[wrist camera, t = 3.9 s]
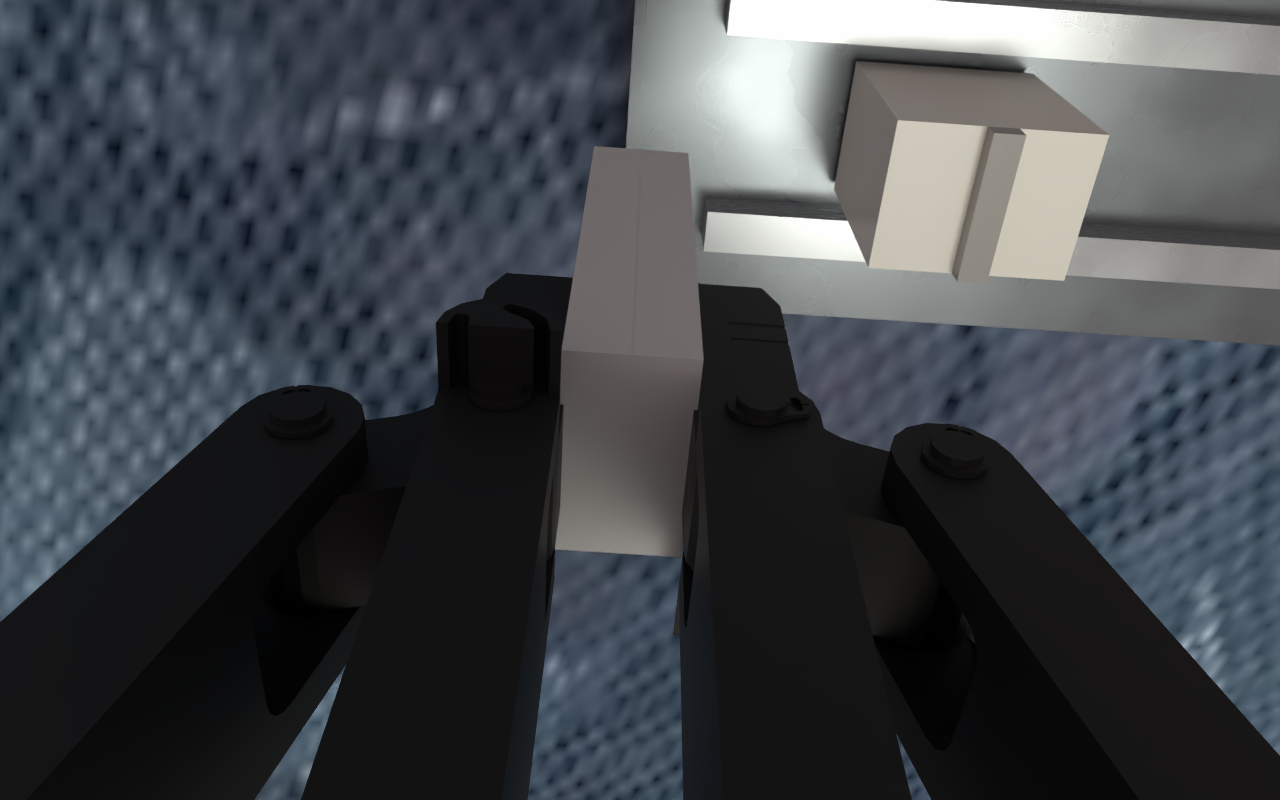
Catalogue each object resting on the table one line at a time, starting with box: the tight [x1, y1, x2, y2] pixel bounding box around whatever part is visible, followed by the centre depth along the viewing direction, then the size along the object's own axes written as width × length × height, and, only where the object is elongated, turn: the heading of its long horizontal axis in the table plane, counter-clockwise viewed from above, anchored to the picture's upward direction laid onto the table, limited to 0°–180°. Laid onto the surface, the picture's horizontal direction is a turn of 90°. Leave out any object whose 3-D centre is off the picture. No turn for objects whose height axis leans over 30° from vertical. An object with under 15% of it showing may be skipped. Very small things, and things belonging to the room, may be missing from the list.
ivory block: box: [834, 61, 1109, 284], centre depth 22 cm, size 4×3×5 cm
